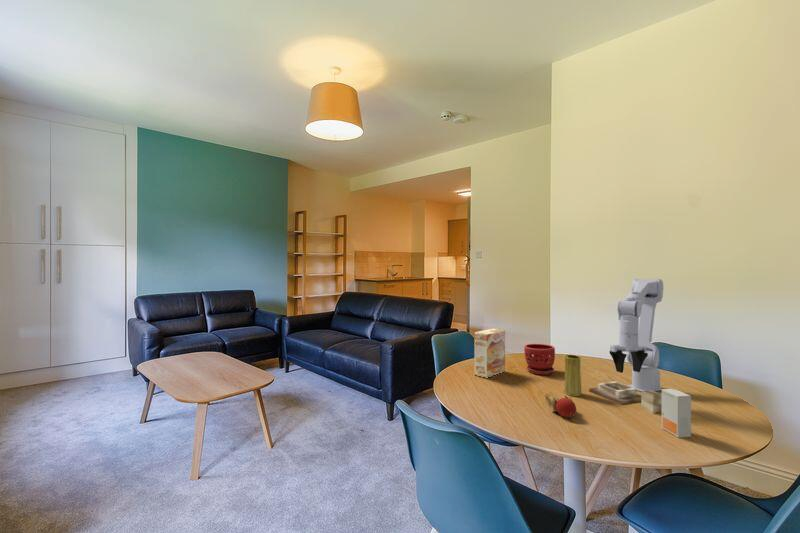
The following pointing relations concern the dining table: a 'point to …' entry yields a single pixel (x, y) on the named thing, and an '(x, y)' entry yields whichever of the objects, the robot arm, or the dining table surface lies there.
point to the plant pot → (540, 358)
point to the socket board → (617, 392)
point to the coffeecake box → (489, 352)
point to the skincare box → (676, 412)
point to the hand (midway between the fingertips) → (628, 371)
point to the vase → (572, 375)
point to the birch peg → (651, 401)
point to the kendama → (561, 405)
